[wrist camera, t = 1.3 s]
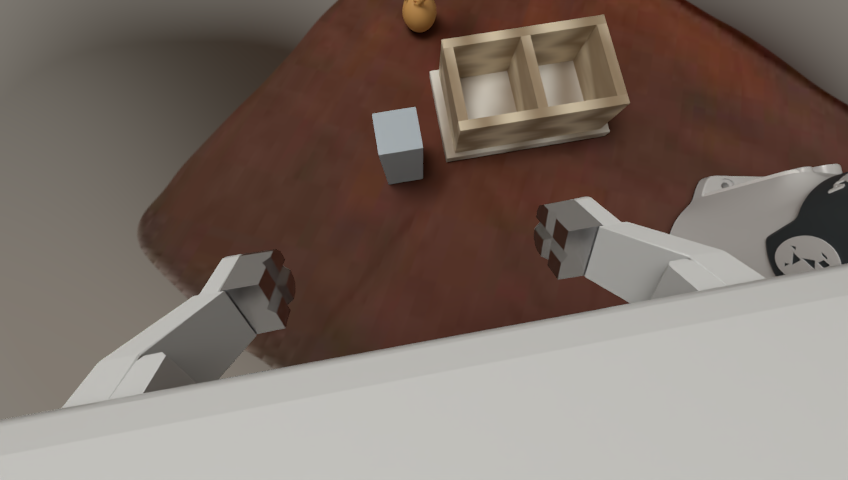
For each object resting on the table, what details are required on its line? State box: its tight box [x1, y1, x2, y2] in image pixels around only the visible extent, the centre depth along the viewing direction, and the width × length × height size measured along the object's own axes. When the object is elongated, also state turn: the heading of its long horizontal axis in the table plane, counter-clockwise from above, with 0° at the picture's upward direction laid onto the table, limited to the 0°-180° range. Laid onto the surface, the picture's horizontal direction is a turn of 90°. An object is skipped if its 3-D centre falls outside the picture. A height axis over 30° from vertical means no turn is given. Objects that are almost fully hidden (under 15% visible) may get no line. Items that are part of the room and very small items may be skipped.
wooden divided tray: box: [430, 15, 630, 162], centre depth 33 cm, size 19×11×6 cm, turn 100°
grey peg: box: [372, 107, 423, 184], centre depth 31 cm, size 4×4×8 cm
